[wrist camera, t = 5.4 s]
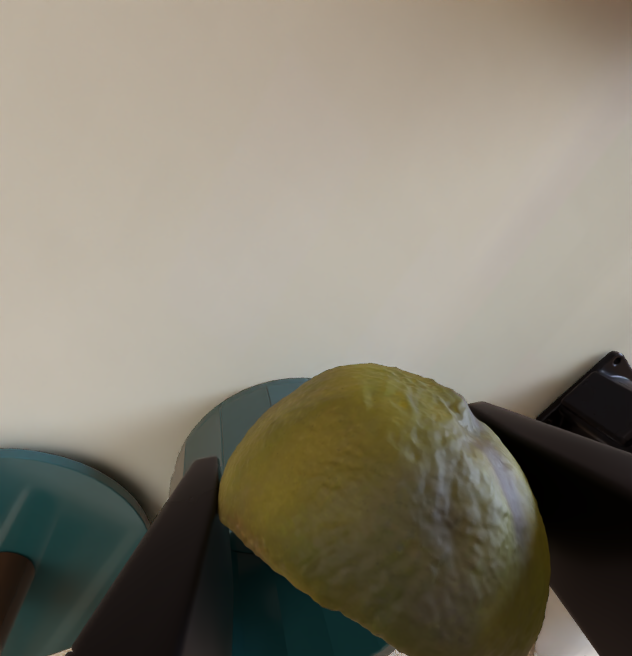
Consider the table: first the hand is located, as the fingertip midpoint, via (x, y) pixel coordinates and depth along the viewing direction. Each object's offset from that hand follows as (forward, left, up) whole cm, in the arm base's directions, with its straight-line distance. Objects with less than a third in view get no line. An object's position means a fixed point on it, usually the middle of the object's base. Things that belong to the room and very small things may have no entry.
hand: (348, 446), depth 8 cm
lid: (0, +18, -11) cm, 21 cm away
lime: (0, 0, -1) cm, 1 cm away
